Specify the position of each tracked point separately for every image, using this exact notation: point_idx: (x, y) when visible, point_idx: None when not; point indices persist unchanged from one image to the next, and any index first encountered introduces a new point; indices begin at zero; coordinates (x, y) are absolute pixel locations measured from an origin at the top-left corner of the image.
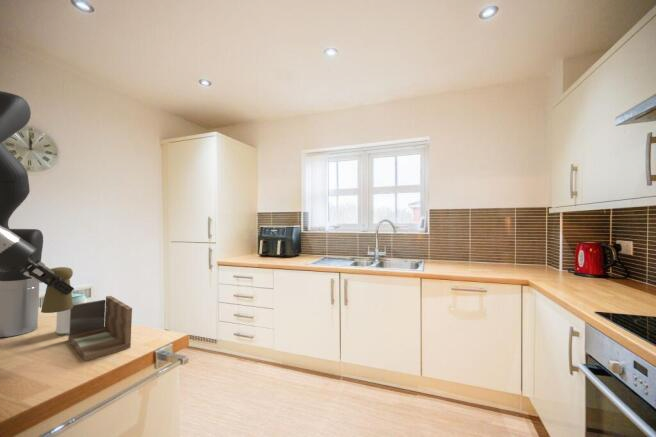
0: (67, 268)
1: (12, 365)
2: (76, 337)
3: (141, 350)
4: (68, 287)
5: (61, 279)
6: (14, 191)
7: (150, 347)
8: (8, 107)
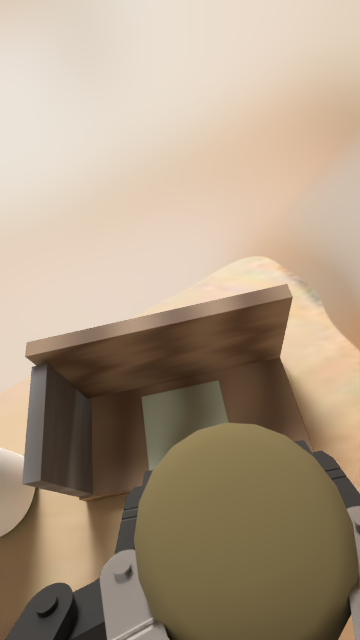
0: (272, 454)
1: None
2: (126, 476)
3: (309, 333)
4: (338, 467)
5: (347, 510)
6: None
7: (300, 315)
8: None
